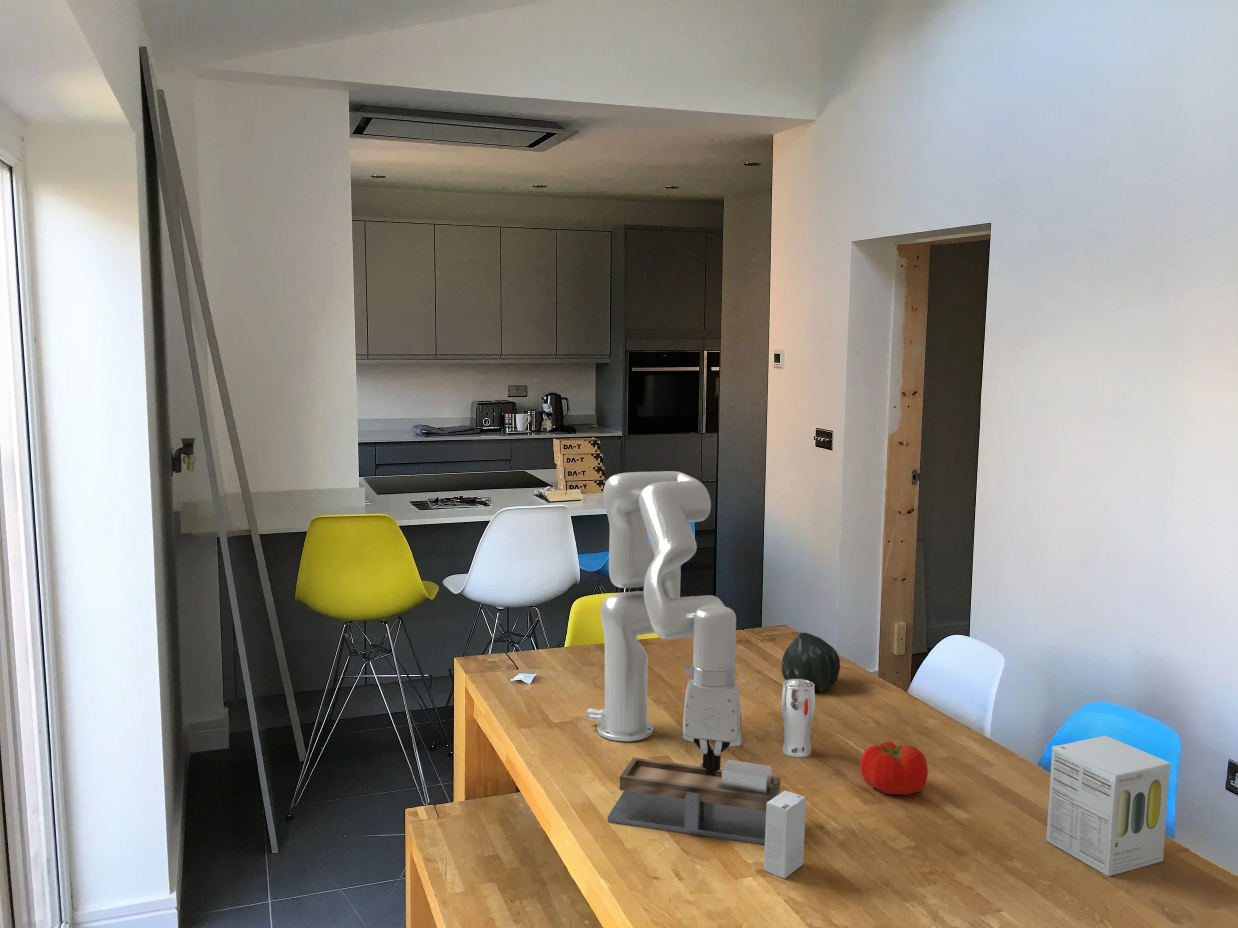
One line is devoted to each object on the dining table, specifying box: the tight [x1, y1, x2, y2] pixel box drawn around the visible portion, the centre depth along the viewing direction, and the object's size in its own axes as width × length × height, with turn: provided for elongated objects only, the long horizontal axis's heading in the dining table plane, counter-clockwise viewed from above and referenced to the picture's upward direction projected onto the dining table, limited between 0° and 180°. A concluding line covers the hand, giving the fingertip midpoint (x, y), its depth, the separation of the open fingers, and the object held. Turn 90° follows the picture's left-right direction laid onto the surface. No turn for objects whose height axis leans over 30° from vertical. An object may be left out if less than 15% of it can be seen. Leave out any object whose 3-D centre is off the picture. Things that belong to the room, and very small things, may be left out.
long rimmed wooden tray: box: [619, 757, 781, 811], centre depth 179 cm, size 28×9×2 cm, turn 74°
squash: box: [781, 632, 841, 692], centre depth 250 cm, size 14×15×15 cm
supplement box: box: [1045, 735, 1171, 877], centre depth 167 cm, size 13×13×18 cm
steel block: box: [721, 759, 773, 795], centre depth 176 cm, size 8×5×4 cm, turn 70°
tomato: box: [860, 741, 929, 796], centre depth 192 cm, size 13×12×8 cm
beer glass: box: [781, 679, 816, 759], centre depth 208 cm, size 7×7×15 cm
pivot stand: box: [607, 762, 766, 846], centre depth 179 cm, size 31×15×7 cm, turn 74°
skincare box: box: [763, 790, 807, 879], centre depth 161 cm, size 6×4×12 cm
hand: (711, 772), depth 178 cm, fingers closed
